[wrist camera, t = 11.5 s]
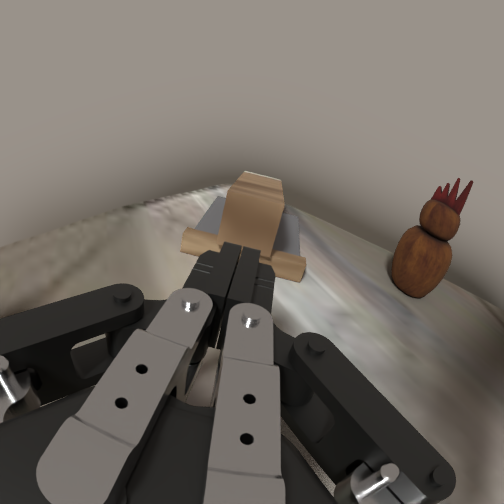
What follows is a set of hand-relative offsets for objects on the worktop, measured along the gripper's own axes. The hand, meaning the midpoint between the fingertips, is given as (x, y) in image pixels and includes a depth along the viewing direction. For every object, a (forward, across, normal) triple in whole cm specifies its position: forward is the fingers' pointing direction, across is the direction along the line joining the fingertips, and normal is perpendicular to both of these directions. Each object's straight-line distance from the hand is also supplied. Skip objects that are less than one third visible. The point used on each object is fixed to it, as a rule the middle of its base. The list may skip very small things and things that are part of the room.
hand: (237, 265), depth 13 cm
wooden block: (+14, 0, +5) cm, 15 cm away
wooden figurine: (+20, -20, +10) cm, 29 cm away
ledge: (+16, 0, +9) cm, 18 cm away
